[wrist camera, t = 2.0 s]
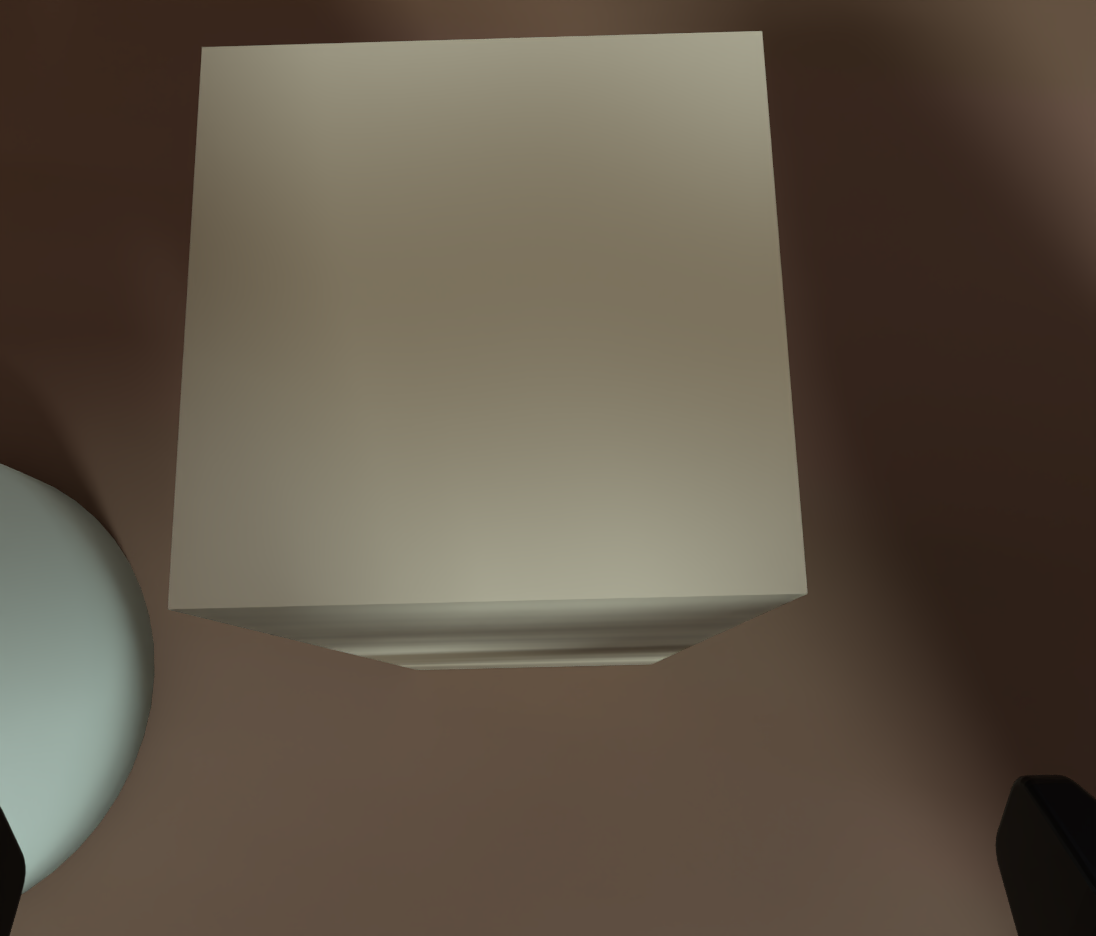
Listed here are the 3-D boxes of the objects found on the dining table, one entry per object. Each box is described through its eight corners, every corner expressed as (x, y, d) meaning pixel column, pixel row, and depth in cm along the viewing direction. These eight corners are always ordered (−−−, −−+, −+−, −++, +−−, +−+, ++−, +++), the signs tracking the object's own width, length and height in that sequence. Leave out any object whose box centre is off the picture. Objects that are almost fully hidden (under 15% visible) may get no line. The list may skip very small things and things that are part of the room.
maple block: (651, 664, 20) (807, 593, 7) (416, 669, 20) (167, 609, 7) (641, 436, 21) (761, 31, 8) (418, 442, 21) (202, 46, 8)
